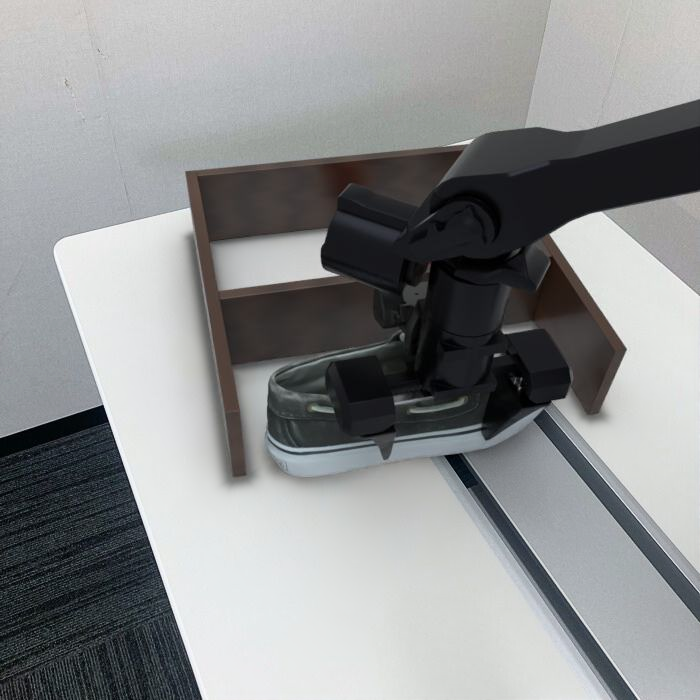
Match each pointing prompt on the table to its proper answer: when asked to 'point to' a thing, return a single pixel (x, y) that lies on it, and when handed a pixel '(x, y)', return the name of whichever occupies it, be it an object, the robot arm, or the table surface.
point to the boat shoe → (352, 452)
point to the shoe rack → (348, 295)
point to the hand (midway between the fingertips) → (435, 445)
